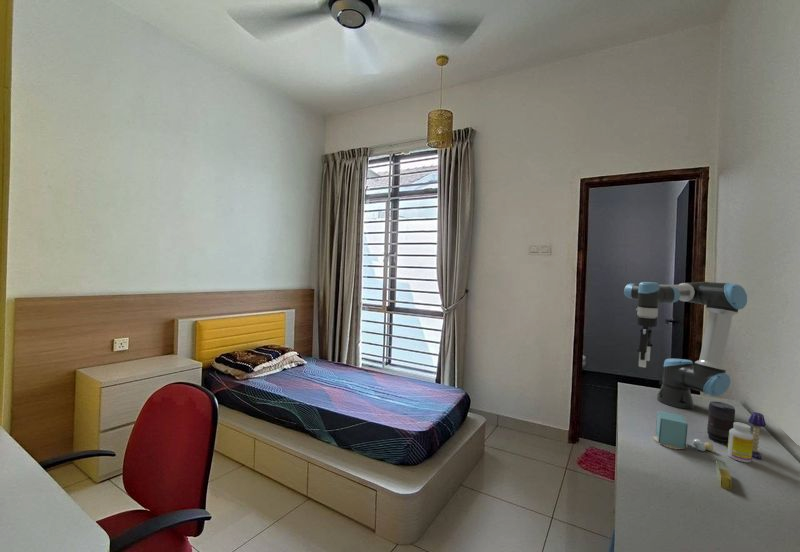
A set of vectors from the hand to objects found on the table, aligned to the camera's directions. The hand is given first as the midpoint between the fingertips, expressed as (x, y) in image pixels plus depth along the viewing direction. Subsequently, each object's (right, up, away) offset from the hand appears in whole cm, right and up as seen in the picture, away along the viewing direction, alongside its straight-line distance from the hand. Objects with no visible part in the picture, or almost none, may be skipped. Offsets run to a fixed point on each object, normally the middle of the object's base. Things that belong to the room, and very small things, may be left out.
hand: (644, 363), depth 161 cm
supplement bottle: (+17, -29, -27) cm, 43 cm away
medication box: (-2, -29, -41) cm, 51 cm away
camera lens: (+22, -29, -13) cm, 38 cm away
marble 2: (+6, -28, -22) cm, 37 cm away
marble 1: (+8, -28, -19) cm, 35 cm away
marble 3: (+10, -28, -22) cm, 37 cm away
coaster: (-2, -28, -17) cm, 33 cm away
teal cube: (-2, -27, -17) cm, 32 cm away
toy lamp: (+25, -29, -25) cm, 46 cm away
